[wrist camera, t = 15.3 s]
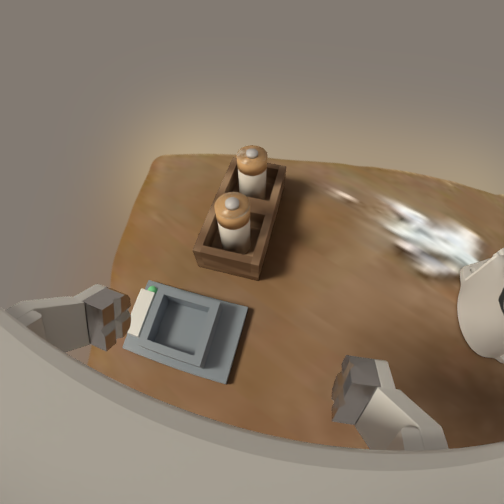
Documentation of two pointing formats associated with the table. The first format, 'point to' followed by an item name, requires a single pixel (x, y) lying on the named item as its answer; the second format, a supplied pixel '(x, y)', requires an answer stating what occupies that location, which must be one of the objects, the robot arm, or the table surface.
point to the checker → (186, 330)
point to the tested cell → (234, 222)
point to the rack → (260, 227)
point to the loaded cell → (252, 171)
